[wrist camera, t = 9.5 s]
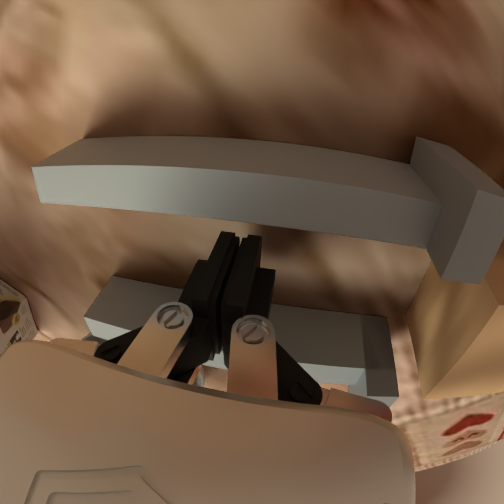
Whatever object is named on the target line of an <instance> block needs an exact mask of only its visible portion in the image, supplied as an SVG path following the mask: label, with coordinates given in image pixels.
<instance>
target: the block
mask: <svg viewBox="0 0 504 504" xmlns="http://www.w3.org/2000/svg"><path fill="white" fill-rule="evenodd" d="M406 318H407V322H408V326H409V330H410V335H411V339H412V344H413V348H414V353H415V358H416V363H417V368H418V373H419V379H420V385H421V391H422V397H423V399H438V398H453V397H465V396H474V395H483V394H491V393H498V392H504V238H503V241H502V243H501V245H500V247H499V249H498V251H497V253H496V255H495V257H494V259H493V261H492V263H491V265H490V267H489V269H488V271H487V273H486V275H485V276H484V278H483V280H482V282H481V284H473V283H466V282H458V281H451V280H443V279H440V277H439V275H438V272H437V270H436V268H435V266H434V264H433V262H432V261H431V263H430V265H429V268H428V270H427V272H426V274H425V276H424V278H423V280H422V282H421V285H420V287H419V289H418V291H417V293H416V295H415V297H414V299H413V301H412V302H411V304H410V306H409V308H408V310H407V312H406Z"/></svg>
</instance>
